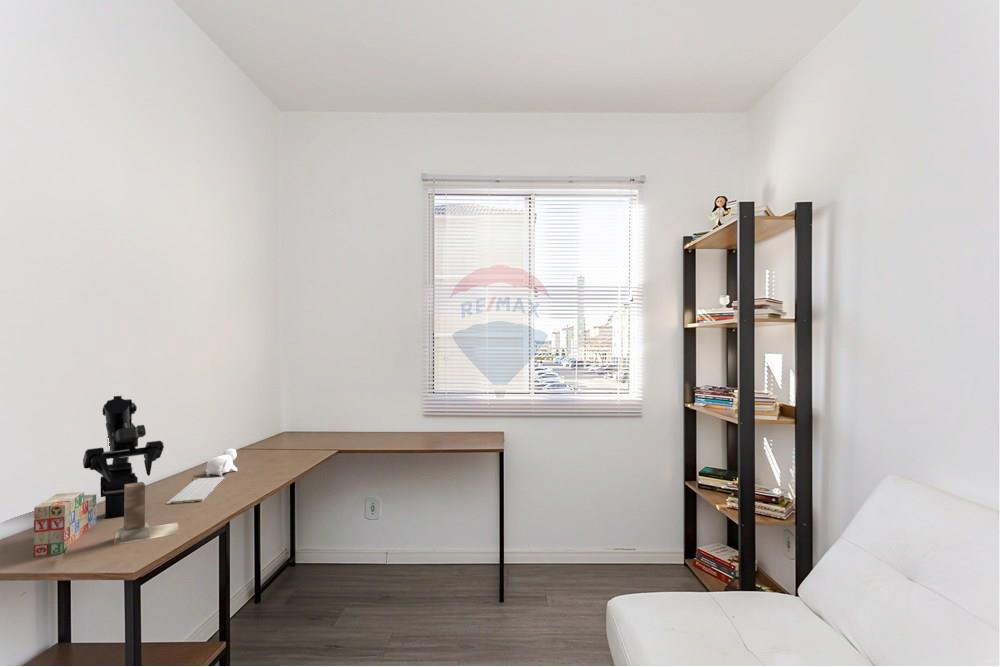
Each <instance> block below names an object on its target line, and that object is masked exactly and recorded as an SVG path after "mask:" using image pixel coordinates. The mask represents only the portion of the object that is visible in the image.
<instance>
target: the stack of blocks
mask: <svg viewBox="0 0 1000 667" xmlns="http://www.w3.org/2000/svg"><path fill="white" fill-rule="evenodd" d="M33 511H34V512H33V538H34V539H33V558H36V557H35V556H40V557H44V556H43V555H48V556H53V555H52V554H57V555H62V554H61V553H64V554H65V553H66V551H67V548H68V546H69V545H71V544H73V543H74V542H75V541H76V540H77V539H79V538H80V537H81V535H83V534H84V533H85V532H86V531H87V530H89V529H91V528H92V527H93V526H94V525H95V524H97V523H98V522H97V521H98V519H97V518H98V517H97V515H98V505H97V494H95V493H94V494H85V491H76V492H65V493H56V494H54V495H52V496H51V497H49V498H47V500H44V501H43V502H41V503H39V504H37V505H36V506H35V507H34V509H33Z"/></svg>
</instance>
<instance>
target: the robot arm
mask: <svg viewBox="0 0 1000 667" xmlns="http://www.w3.org/2000/svg"><path fill="white" fill-rule="evenodd" d="M122 396H123V395H113V398H112V399H110V400H107V401H106V403H104V404H103V407H102V415H103V417H104V416H105V428H106V431H107V432H106V433H107V438H109V442H110V443H109V446H110V449H109V450H108V451H105V450H104V447H95V448H87V449H86V450H85V451H84V455H83V459H82V465H83V468H84V469H86V470H87V469H89V470H90V471H95V472H97V473H99V474H100V475H101V476H100V483H99V484H100V498H103V497H105V498H104V499H105V501H104V503H105V504H104V508H105V509H104V511H105V512H104V517H103V518H104V519H110V518H115V517H116V518H117V517H124V484H131V483H138V482H139V481H138V476H136V472H133V466H132V463H131V462H130V461H129V460H130V457H135V456H136V457H137V456H143V458H144V461H143V462H144V467H145V472H146V475H147V476H148V477H149V476H151V470H152V465H153V462H155V461H156V460H157V459H160V458H161V457H162V453H163V450H164V447H165V446H164V442H163V441H162V440H154V441H153V440H152V441H146V444H145V447H139V439H140V438H143V437H145V436H146V434H147V433H146V432H147V431H146V428H145V425H144V424H141V425H140V424H138V425H136V426H135V424H134V423H133V418H132V417H133V415H135V413H136V411H137V410H138V409H137V408H138V406H137V405H136V403H135V402H133V400H132V399H131V398H130V399H129V398H127V399H124V398H123V397H122ZM108 459H109V460H110V459H112V463H109V464H108Z"/></svg>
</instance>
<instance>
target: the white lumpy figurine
mask: <svg viewBox="0 0 1000 667" xmlns="http://www.w3.org/2000/svg"><path fill="white" fill-rule="evenodd" d="M237 456H238V453H237V450H236V449H235V448H227V449H226V448H225V449H224V451H223V452H222V454H221V455H217V456H215V457H213V458H210V459H209V460H208V461H207V463H206V468H205V472H206V473H205V476H206V477H210V476H211V475H215V476H218V477H223V475H224V474H225V473H228V472H230V471H232V472H238V468H237V466H235V464H234V461H235V460H236V459H237ZM209 474H210V475H209Z"/></svg>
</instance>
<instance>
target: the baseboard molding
mask: <svg viewBox="0 0 1000 667" xmlns="http://www.w3.org/2000/svg"><path fill="white" fill-rule="evenodd" d="M209 475H210V476H211V474H209ZM212 476H214V477H204V478H200V477H199V476H196V475H194V476H193V478H197V477H199V478H197V479H192V480H191V481H190V482H189V484H187V486H185V487H184V488H182V490H181V491H179V492H178V493H177V494H175V496H173V497H172V498H171V499H170V500H168V501H167V502H166V503H165V505H172V504H171V503H180V504H183V503H182V502H193V503H195V502H194V501H202V502H203V501H204V500H205V499H206V498H207V497H208V496H209V495H210V494H211V493H212V492H214V490H215V489H216V488H217V487H218V486H219V485H220V484H221V483H222V482H223V481H224V480H225V476H217V477H215V476H216V475H214V474H212ZM223 479H224V480H223ZM222 480H223V481H222ZM221 481H222V482H221ZM220 482H221V483H220ZM219 483H220V484H219ZM218 484H219V485H218ZM217 485H218V486H217ZM216 486H217V487H216ZM215 487H216V488H215ZM214 488H215V489H214ZM210 492H211V493H210ZM208 494H209V495H208Z"/></svg>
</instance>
